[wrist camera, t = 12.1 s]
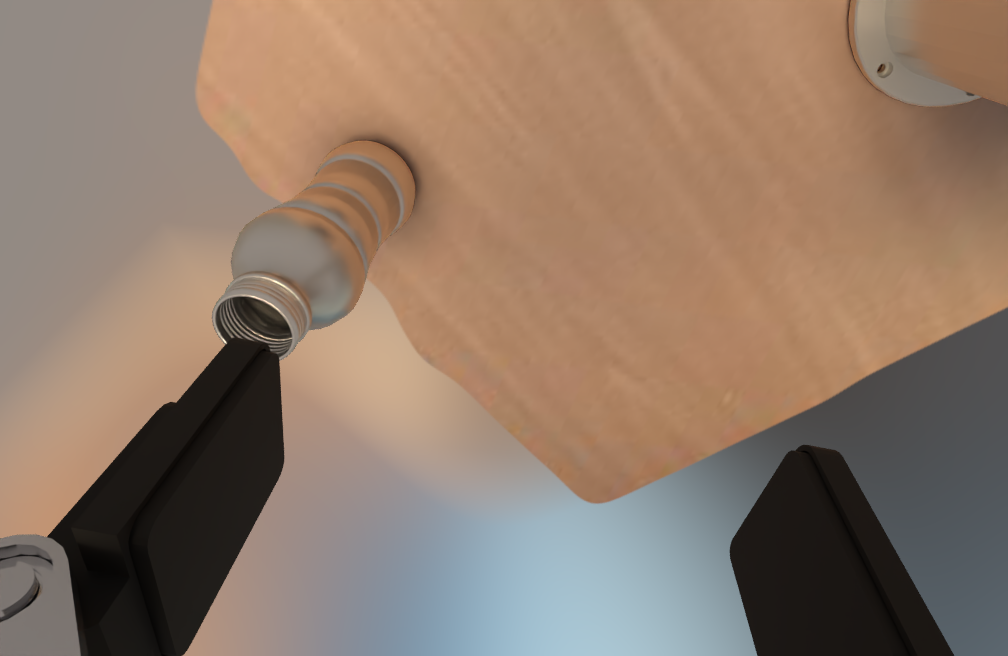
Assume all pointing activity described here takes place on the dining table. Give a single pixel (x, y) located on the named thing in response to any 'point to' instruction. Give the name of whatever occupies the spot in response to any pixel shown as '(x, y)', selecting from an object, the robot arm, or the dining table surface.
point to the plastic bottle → (315, 248)
